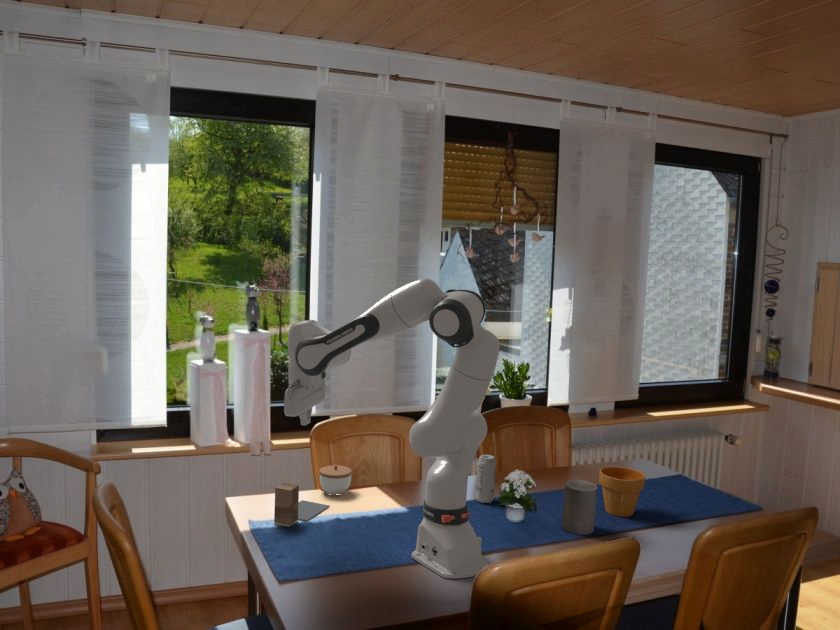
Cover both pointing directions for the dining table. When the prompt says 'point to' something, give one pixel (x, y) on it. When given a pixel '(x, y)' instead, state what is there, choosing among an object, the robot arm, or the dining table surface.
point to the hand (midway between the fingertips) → (305, 424)
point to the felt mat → (309, 510)
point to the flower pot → (621, 489)
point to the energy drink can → (485, 479)
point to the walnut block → (286, 504)
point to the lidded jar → (335, 479)
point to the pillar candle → (579, 507)
